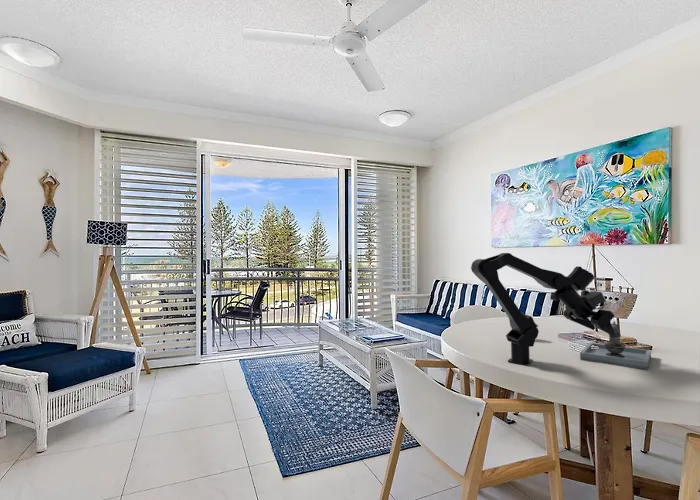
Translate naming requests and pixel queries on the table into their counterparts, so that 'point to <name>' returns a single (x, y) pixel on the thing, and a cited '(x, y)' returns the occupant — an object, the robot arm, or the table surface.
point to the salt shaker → (615, 343)
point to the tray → (631, 359)
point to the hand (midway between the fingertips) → (603, 331)
